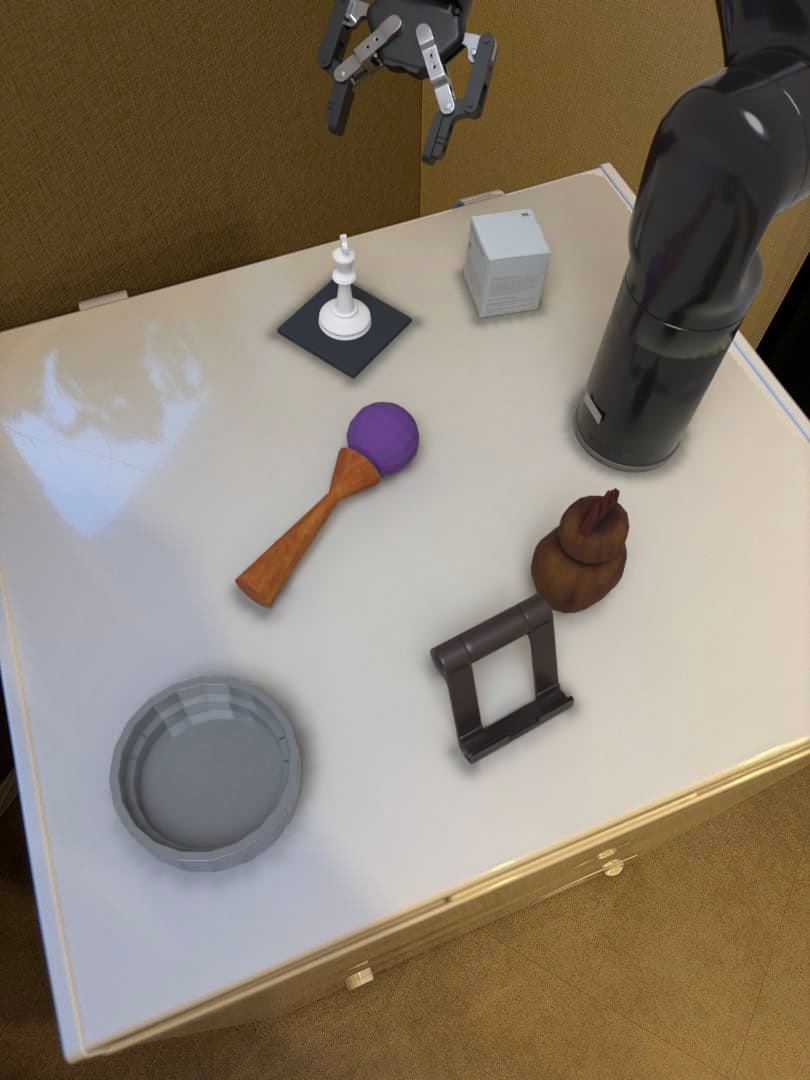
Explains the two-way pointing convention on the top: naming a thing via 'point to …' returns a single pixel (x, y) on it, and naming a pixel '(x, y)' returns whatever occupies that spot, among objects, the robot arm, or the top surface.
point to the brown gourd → (582, 554)
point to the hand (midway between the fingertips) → (381, 148)
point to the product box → (506, 262)
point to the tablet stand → (484, 640)
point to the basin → (206, 773)
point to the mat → (344, 352)
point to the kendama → (338, 491)
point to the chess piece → (344, 300)
